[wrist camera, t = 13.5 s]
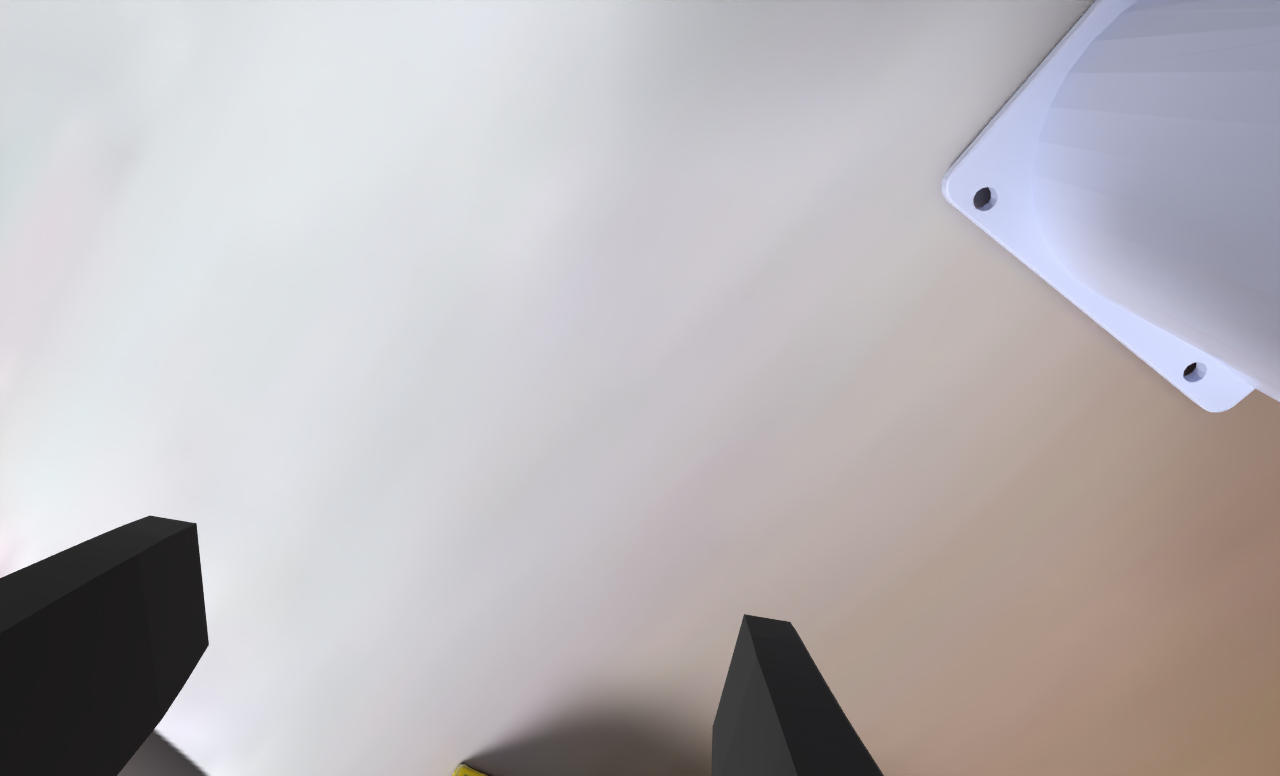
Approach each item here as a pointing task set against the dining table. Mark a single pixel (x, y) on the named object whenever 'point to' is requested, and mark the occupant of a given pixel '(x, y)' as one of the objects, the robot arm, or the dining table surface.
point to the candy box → (466, 771)
